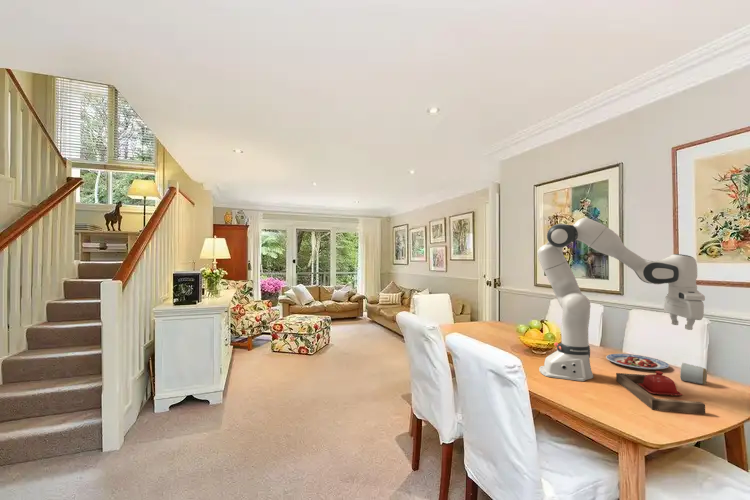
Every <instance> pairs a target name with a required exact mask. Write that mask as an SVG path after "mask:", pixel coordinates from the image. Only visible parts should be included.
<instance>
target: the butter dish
mask: <svg viewBox="0 0 750 500" xmlns="http://www.w3.org/2000/svg"><path fill="white" fill-rule="evenodd" d="M645 375H646V376H645V377H644V382H643V383H639V384H638V386H639V387H641V388H642V389H643V390H645V391H646V392H648V393H649V394H653V395H661V396H671V395H673V396H674V397H676V396H683V393H682V392H681V391H679V390H678V389H677V385H676V383H675V381H674V380H673V379H672V378H670V377H668V376H666V375H664V372H663V371H662V370H655V371H654V374H653V373H651V374H650V373H649V374H645Z"/></svg>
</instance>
